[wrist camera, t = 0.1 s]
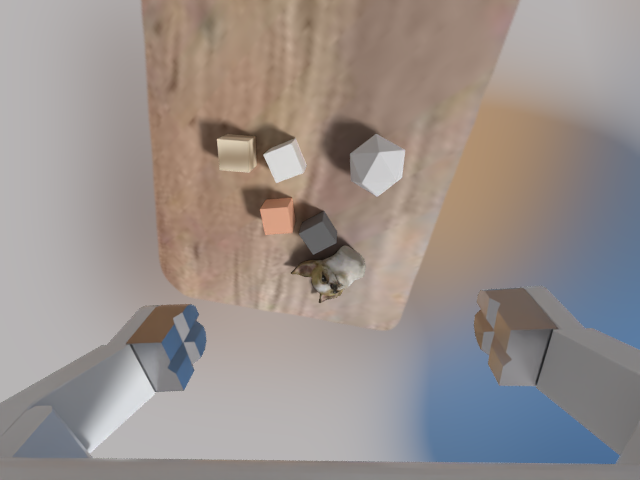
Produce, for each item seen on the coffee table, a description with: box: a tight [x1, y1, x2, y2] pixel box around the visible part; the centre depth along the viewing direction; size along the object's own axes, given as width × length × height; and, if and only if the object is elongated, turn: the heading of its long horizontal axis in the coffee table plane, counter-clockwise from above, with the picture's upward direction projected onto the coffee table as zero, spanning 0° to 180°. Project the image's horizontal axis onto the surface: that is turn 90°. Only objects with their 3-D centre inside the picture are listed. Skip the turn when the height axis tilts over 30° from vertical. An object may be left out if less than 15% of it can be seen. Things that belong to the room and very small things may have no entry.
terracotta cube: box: [260, 197, 296, 235], centre depth 58 cm, size 5×5×5 cm
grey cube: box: [263, 138, 307, 183], centre depth 53 cm, size 5×5×5 cm
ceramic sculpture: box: [291, 246, 366, 303], centre depth 61 cm, size 11×9×15 cm
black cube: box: [299, 211, 337, 255], centre depth 59 cm, size 5×5×5 cm
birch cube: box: [217, 134, 257, 172], centre depth 53 cm, size 5×5×5 cm
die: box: [350, 134, 405, 197], centre depth 51 cm, size 8×9×10 cm
